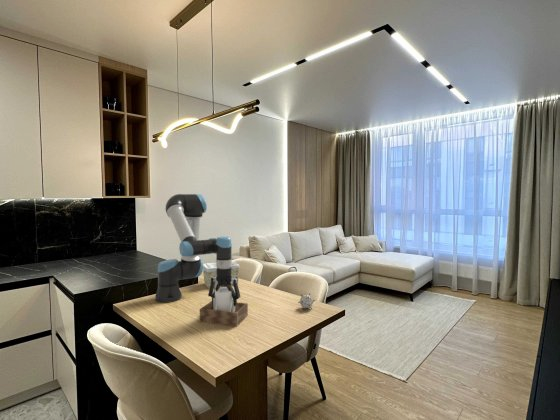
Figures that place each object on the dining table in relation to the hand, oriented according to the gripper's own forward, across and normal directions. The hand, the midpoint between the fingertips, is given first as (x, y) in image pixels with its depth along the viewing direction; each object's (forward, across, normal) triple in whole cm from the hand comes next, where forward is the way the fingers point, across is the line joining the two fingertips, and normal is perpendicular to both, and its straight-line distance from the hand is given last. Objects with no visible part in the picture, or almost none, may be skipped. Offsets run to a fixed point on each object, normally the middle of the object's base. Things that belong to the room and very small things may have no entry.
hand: (224, 310), depth 153 cm
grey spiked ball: (+4, +38, +25) cm, 46 cm away
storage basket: (+4, -30, +57) cm, 65 cm away
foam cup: (+2, 0, 0) cm, 2 cm away
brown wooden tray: (+4, 0, 0) cm, 4 cm away
